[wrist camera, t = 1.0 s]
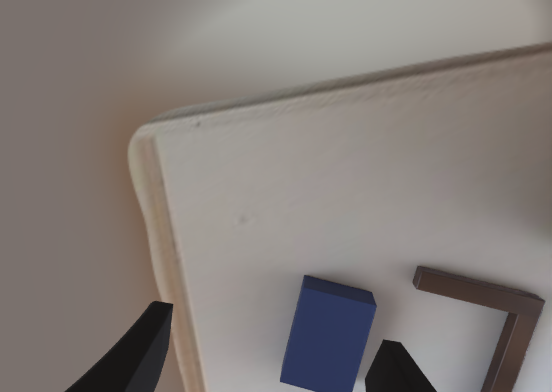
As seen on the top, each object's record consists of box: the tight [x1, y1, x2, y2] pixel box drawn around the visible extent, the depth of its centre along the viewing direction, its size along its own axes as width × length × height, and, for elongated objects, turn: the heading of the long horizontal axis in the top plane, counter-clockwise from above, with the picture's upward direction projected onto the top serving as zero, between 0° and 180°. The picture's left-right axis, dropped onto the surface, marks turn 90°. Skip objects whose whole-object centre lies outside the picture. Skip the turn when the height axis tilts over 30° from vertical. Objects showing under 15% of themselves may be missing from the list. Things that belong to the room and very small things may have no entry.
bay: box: [413, 266, 545, 392], centre depth 29 cm, size 14×9×1 cm, turn 168°
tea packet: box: [280, 275, 377, 392], centre depth 29 cm, size 8×6×2 cm
